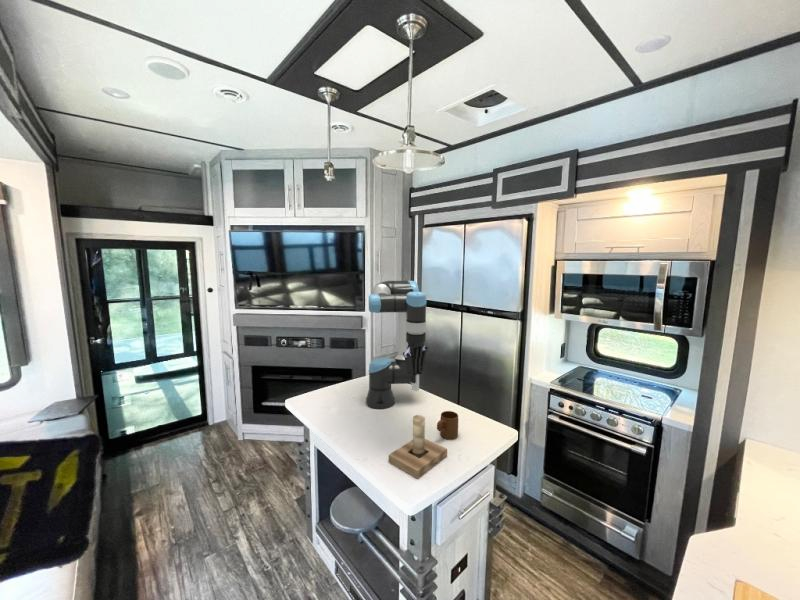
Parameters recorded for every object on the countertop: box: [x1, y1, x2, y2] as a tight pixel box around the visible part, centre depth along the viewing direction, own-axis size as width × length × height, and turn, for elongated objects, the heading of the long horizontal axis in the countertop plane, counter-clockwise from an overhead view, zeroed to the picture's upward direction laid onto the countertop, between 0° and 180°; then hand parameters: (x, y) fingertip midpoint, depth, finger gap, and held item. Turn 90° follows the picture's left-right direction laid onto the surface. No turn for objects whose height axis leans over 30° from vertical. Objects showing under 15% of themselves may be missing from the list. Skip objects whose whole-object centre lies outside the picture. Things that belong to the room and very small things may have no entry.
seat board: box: [388, 438, 448, 480], centre depth 124 cm, size 18×14×3 cm
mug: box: [436, 410, 459, 441], centre depth 139 cm, size 12×8×9 cm, turn 136°
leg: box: [412, 414, 426, 458], centre depth 124 cm, size 5×5×16 cm
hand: (415, 389), depth 130 cm, fingers closed
